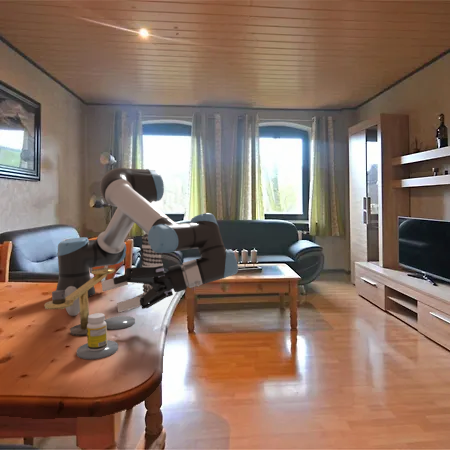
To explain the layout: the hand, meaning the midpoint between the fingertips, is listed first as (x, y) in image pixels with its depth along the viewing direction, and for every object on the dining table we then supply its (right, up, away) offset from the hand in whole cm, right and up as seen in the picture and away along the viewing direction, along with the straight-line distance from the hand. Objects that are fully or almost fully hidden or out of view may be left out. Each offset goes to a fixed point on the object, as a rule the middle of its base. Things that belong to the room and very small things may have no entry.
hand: (110, 297), depth 99 cm
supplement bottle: (-1, -11, -8) cm, 14 cm away
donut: (-19, -11, +21) cm, 31 cm away
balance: (-10, -11, +6) cm, 16 cm away
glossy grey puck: (-1, -11, +12) cm, 16 cm away
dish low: (-1, -12, -8) cm, 14 cm away
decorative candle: (+2, -8, +49) cm, 50 cm away
